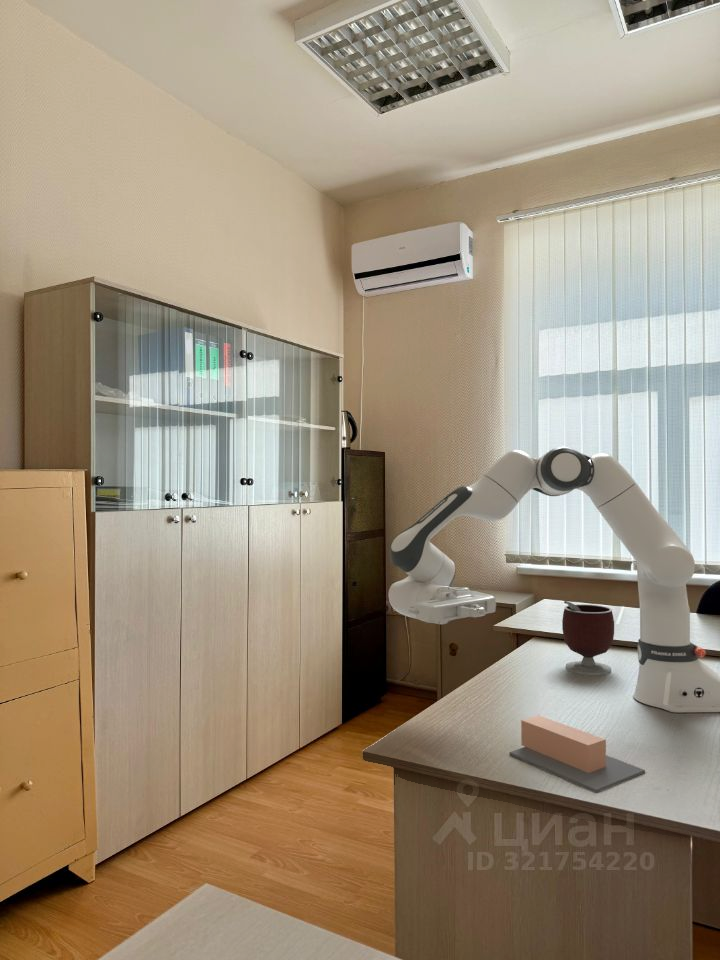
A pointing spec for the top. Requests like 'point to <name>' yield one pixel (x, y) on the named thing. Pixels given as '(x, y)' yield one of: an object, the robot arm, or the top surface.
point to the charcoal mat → (592, 781)
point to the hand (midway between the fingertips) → (480, 612)
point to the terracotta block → (564, 743)
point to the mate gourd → (588, 636)
